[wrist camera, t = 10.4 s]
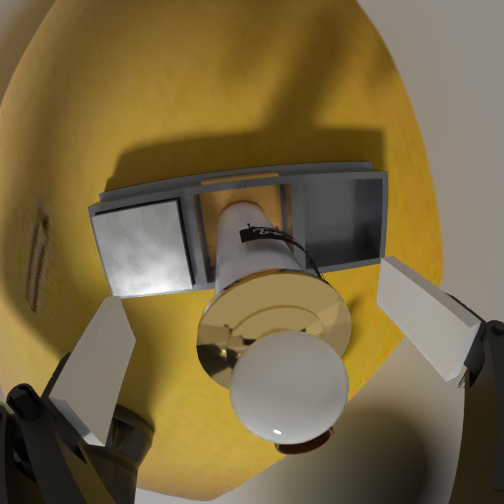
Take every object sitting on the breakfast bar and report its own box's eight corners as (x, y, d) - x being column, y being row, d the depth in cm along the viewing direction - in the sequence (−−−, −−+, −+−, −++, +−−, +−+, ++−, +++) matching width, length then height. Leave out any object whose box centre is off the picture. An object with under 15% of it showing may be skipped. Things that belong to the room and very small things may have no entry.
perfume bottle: (256, 265, 26) (319, 474, 7) (200, 240, 24) (165, 460, 6) (286, 211, 24) (435, 375, 6) (228, 182, 23) (257, 328, 4)
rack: (126, 284, 26) (110, 311, 22) (104, 191, 23) (79, 202, 18) (365, 252, 28) (389, 272, 23) (366, 161, 24) (395, 165, 20)
